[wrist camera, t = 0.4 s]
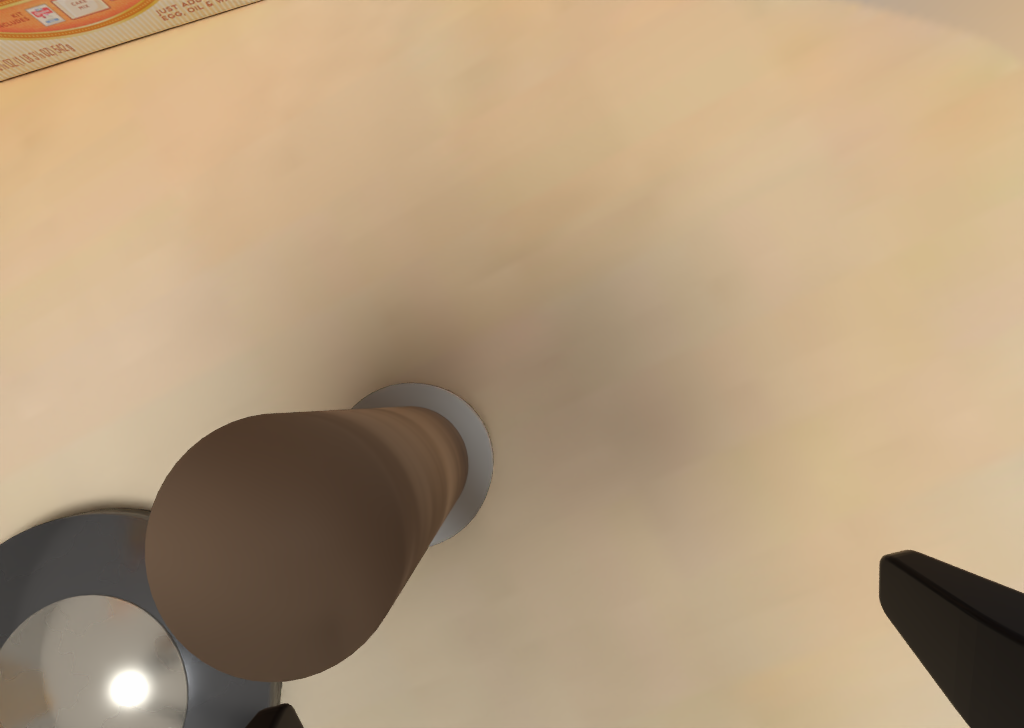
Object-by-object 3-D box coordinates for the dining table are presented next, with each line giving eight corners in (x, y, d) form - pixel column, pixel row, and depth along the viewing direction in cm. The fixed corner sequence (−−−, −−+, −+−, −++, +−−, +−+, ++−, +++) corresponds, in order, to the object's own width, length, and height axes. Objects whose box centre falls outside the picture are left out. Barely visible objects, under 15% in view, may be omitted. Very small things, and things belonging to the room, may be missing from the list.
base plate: (158, 935, 21) (134, 972, 20) (-124, 742, 22) (-166, 765, 20) (346, 621, 22) (335, 636, 21) (68, 445, 23) (39, 448, 21)
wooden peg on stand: (441, 571, 22) (332, 813, 9) (308, 488, 22) (21, 610, 9) (522, 434, 22) (527, 480, 10) (390, 355, 23) (222, 296, 10)
